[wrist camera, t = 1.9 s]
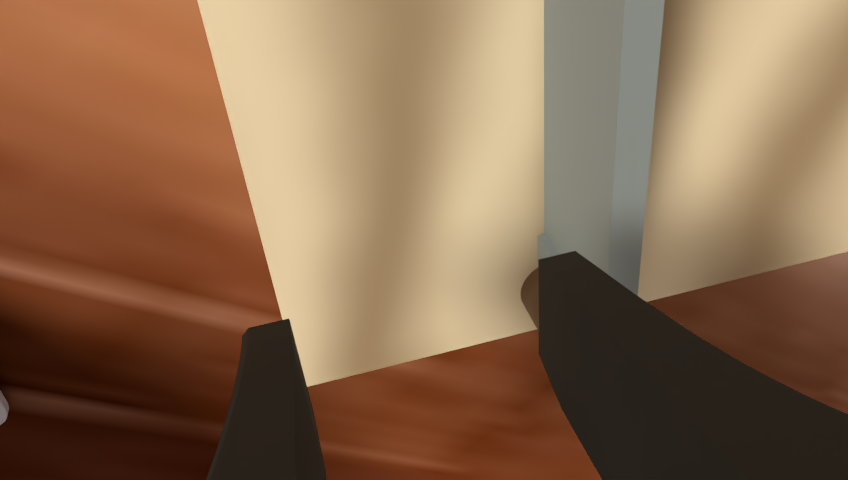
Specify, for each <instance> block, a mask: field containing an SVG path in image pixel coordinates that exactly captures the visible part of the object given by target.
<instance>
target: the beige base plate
mask: <svg viewBox="0 0 848 480" xmlns="http://www.w3.org/2000/svg"><path fill="white" fill-rule="evenodd" d="M197 1H198V4H199V8H200V12H201V16H202V19H203V23H204V27H205V31H206V34H207V38H208V42H209V46H210V49H211V53H212V57H213V61H214V64H215V68H216V72H217V76H218V79H219V83H220V87H221V91H222V94H223V98H224V102H225V106H226V109H227V113H228V117H229V121H230V124H231V128H232V132H233V136H234V139H235V143H236V147H237V151H238V154H239V158H240V162H241V166H242V169H243V173H244V177H245V181H246V184H247V188H248V192H249V196H250V199H251V203H252V207H253V211H254V214H255V218H256V222H257V226H258V229H259V233H260V237H261V241H262V244H263V248H264V252H265V256H266V259H267V263H268V267H269V271H270V274H271V278H272V282H273V286H274V289H275V293H276V297H277V301H278V304H279V308H280V312H281V316H282V319H283V320H285V319H289V320H290V323H291V327H292V331H293V335H294V339H295V343H296V347H297V350H298V354H299V358H300V362H301V366H302V370H303V374H304V377H305V381H306V385H307V387H308V386H312V385H316V384H320V383H324V382H328V381H332V380H336V379H340V378H344V377H348V376H352V375H356V374H360V373H364V372H368V371H372V370H376V369H380V368H384V367H388V366H392V365H396V364H400V363H404V362H408V361H412V360H416V359H420V358H424V357H428V356H432V355H436V354H440V353H444V352H448V351H452V350H456V349H460V348H464V347H468V346H472V345H476V344H480V343H484V342H488V341H492V340H496V339H500V338H504V337H508V336H512V335H516V334H520V333H524V332H528V331H532V330H536V329H537V330H538V332H539V272H538V254H537V236H538V235H542V234H544V0H197ZM844 252H848V0H665V3H664V14H663V25H662V36H661V47H660V57H659V68H658V79H657V90H656V101H655V112H654V123H653V133H652V144H651V155H650V166H649V177H648V188H647V199H646V210H645V220H644V231H643V242H642V253H641V264H640V275H639V286H638V296H639V297H640V298H641V299H643V300H644V301H646V302H648V301H652V300H656V299H660V298H664V297H668V296H672V295H676V294H680V293H684V292H688V291H692V290H696V289H700V288H704V287H708V286H712V285H716V284H720V283H724V282H728V281H732V280H736V279H740V278H744V277H748V276H752V275H756V274H760V273H764V272H768V271H772V270H776V269H780V268H784V267H788V266H792V265H796V264H800V263H804V262H808V261H812V260H816V259H820V258H824V257H828V256H832V255H836V254H840V253H844Z"/></svg>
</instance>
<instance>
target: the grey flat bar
mask: <svg viewBox="0 0 848 480" xmlns="http://www.w3.org/2000/svg"><path fill="white" fill-rule="evenodd" d="M664 3H665V0H544V234H542V235H538V236H537V254H538V260H539V259H543V258H547V257H551V256H556V255H560V254H564V253H568V252H572V251H576V252H578V253H579V254H580V255H582V256H583V257H585V258H586V259H587V260H589V261H590V262H592V263H593V264H594V265H596V266H597V267H598V268H600V269H601V270H603V271H604V272H605V273H607V274H608V275H609V276H611V277H612V278H614V279H615V280H616V281H618V282H619V283H620V284H622V285H623V286H625V287H626V288H627V289H629V290H630V291H632V292H633V293H634V294H636V295H637V296H638V286H639V275H640V264H641V253H642V242H643V231H644V220H645V210H646V199H647V188H648V177H649V166H650V155H651V144H652V133H653V123H654V112H655V101H656V90H657V79H658V68H659V57H660V47H661V36H662V25H663V14H664Z"/></svg>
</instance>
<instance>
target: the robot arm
mask: <svg viewBox="0 0 848 480" xmlns="http://www.w3.org/2000/svg"><path fill="white" fill-rule="evenodd" d="M538 272H539V355H540V357H541V360H542V362H543V365H544V367H545V370H546V372H547V375H548V377H549V379H550V382H551V384H552V387H553V389H554V391H555V394H556V396H557V398H558V401H559V403H560V405H561V408H562V410H563V411H564V413H565V415H566V417H567V419H568V420H569V422H570V424H571V426H572V427H573V429H574V431H575V433H576V434H577V436H578V438H579V440H580V442H581V443H582V445H583V447H584V449H585V450H586V452H587V454H588V456H589V457H590V459H591V461H592V462H593V464H594V466H595V468H596V469H597V471H598V473H599V475H600V476H601V478H602V480H848V414H846V413H843V412H841V411H838V410H836V409H834V408H831V407H829V406H827V405H825V404H823V403H820V402H818V401H816V400H814V399H812V398H809V397H807V396H805V395H803V394H801V393H799V392H797V391H795V390H793V389H791V388H789V387H787V386H785V385H783V384H781V383H779V382H777V381H775V380H773V379H771V378H769V377H767V376H765V375H763V374H762V373H760V372H758V371H756V370H754V369H752V368H751V367H749V366H747V365H745V364H743V363H741V362H740V361H738V360H736V359H735V358H733V357H731V356H730V355H728V354H726V353H724V352H723V351H721V350H719V349H718V348H716V347H714V346H713V345H711V344H709V343H708V342H706V341H704V340H703V339H701V338H699V337H698V336H696V335H695V334H693V333H692V332H690V331H688V330H687V329H685V328H684V327H682V326H681V325H679V324H678V323H676V322H675V321H673V320H672V319H671V318H669V317H668V316H666V315H665V314H663V313H662V312H660V311H659V310H657V309H656V308H654V307H653V306H651V305H650V304H648V303H647V302H646V301H644V300H643V299H641V298H640V297H639V296H637V295H636V294H634V293H633V292H632V291H630V290H629V289H627V288H626V287H625V286H623V285H622V284H620V283H619V282H618V281H616V280H615V279H614V278H612V277H611V276H609V275H608V274H607V273H605V272H604V271H603V270H601V269H600V268H598V267H597V266H596V265H594V264H593V263H592V262H590V261H589V260H587V259H586V258H585V257H583V256H582V255H580V254H579V253H578V252H576V251H572V252H568V253H564V254H560V255H556V256H551V257H547V258H543V259H539V260H538ZM8 411H9V405H8V402H7V401H6V399H5V397H4V396H3V394H2V392H1V391H0V425H1V424H2V423H4V422H5V421H6V418H7V416H8ZM206 480H326V471H325V466H324V461H323V457H322V452H321V447H320V442H319V437H318V432H317V427H316V422H315V417H314V412H313V408H312V404H311V401H310V397H309V393H308V389H307V385H306V381H305V377H304V374H303V370H302V366H301V362H300V358H299V354H298V350H297V347H296V343H295V339H294V335H293V331H292V327H291V323H290V320H289V319H285V320H281V321H277V322H272V323H268V324H264V325H260V326H255V327H251V328H248V329H247V331H246V332H245V333H244V334H243V336H242V348H241V355H240V361H239V367H238V372H237V377H236V381H235V385H234V390H233V394H232V398H231V402H230V406H229V409H228V413H227V416H226V419H225V423H224V426H223V430H222V433H221V437H220V440H219V443H218V446H217V450H216V453H215V455H214V458H213V461H212V464H211V467H210V469H209V472H208V475H207V478H206Z"/></svg>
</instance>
